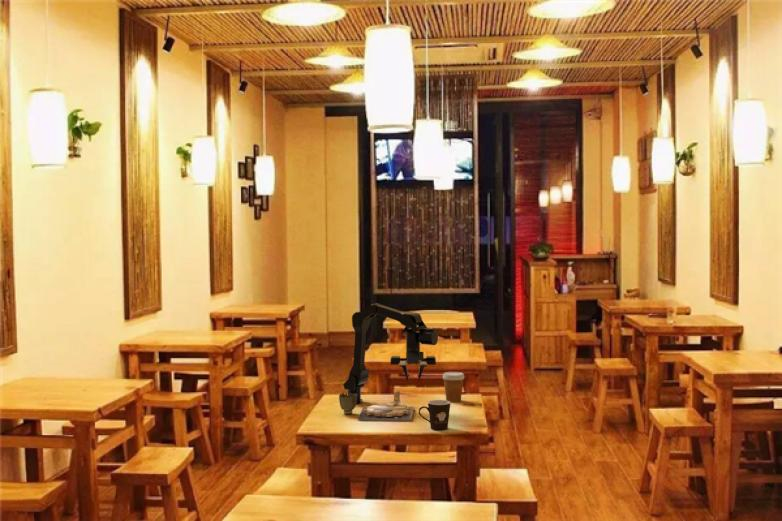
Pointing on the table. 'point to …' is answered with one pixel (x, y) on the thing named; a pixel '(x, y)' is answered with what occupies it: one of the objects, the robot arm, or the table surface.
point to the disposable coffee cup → (453, 386)
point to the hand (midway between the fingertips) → (413, 380)
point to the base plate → (404, 417)
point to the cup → (348, 402)
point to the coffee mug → (438, 414)
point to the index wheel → (388, 408)
